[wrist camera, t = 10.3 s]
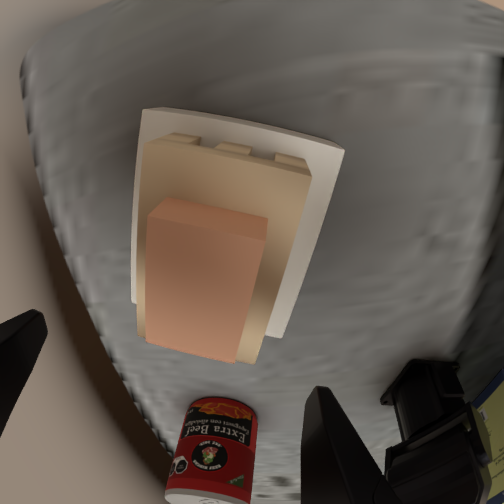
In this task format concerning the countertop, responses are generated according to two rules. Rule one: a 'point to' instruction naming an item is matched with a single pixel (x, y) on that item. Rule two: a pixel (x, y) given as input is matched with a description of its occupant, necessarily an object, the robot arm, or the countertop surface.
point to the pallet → (232, 198)
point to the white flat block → (264, 146)
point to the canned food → (214, 454)
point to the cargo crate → (200, 276)
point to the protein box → (494, 433)
